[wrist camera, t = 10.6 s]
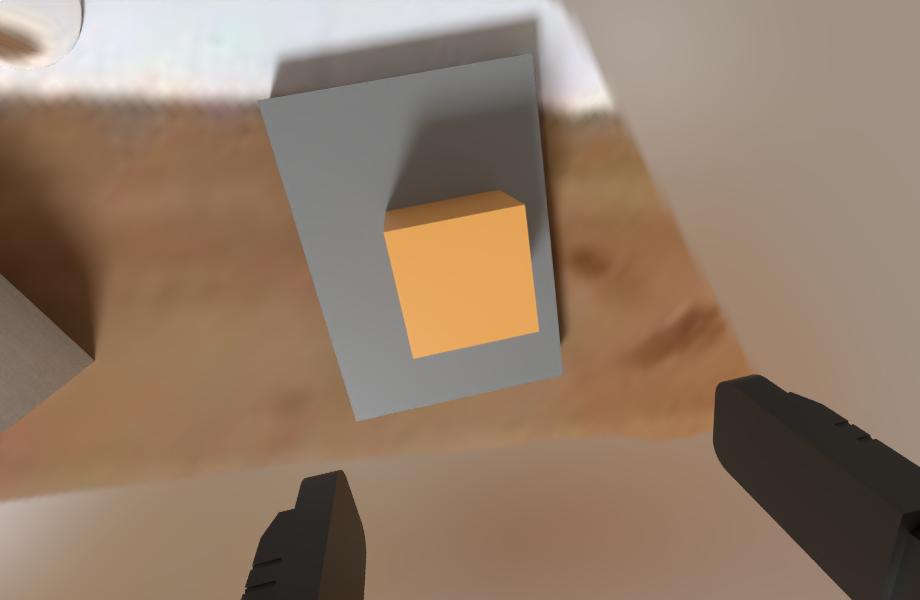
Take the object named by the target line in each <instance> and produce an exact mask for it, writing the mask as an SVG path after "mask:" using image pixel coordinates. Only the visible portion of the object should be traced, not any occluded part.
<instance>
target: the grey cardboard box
mask: <svg viewBox="0 0 920 600" xmlns="http://www.w3.org/2000/svg"><path fill="white" fill-rule="evenodd" d="M94 361H95V360H93V359H92V358H91V357H90V356H89V355H88V354H87V353H86V352H85V351H84V350H83V349H82V348H80V347H79V346H78V345H77V344H76V343H75V342H74V341H73V340H72V339H71V338H70V337H68V336H67V335H66V334H65V333H64V332H63V331H62V330H61V329H60V328H59V327H58V326H57V325H55V324H54V323H53V322H52V321H51V320H50V319H49V318H48V317H47V316H46V315H45V314H44V313H42V312H41V311H40V310H39V309H38V308H37V307H36V306H35V305H34V304H33V303H32V302H31V301H29V300H28V299H27V298H26V297H25V296H24V295H23V294H22V293H21V292H20V291H19V290H17V289H16V288H15V287H14V286H13V285H12V284H11V283H10V282H9V281H8V280H7V279H6V278H4V277H3V276H2V275H1V274H0V434H1V433H2V432H4V431H5V430H6V429H8V428H9V427H11V426H12V425H13V424H15V423H16V422H17V421H19V420H20V419H21V418H22V417H24V416H25V415H26V414H27V413H29V412H30V411H31V410H33V409H34V408H35V407H36V406H38V405H39V404H40V403H42V402H43V401H44V400H45V399H47V398H48V397H49V396H50V395H52V394H53V393H54V392H56V391H57V390H58V389H59V388H61V387H62V386H63V385H65V384H66V383H67V382H68V381H70V380H71V379H72V378H74V377H75V376H76V375H77V374H79V373H80V372H81V371H82V370H84V369H85V368H86V367H88V366H89V365H90V364H91V363H93V362H94Z"/></svg>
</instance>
